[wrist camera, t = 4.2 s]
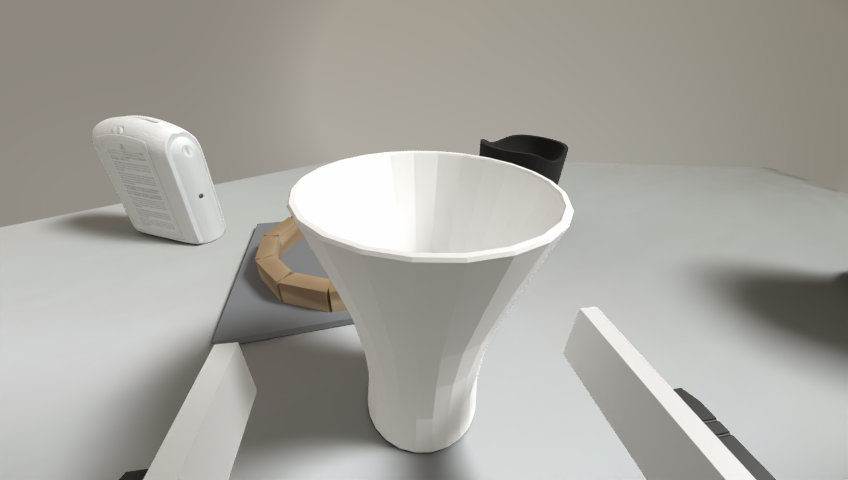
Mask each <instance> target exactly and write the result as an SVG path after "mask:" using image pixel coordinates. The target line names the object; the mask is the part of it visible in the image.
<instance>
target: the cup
mask: <svg viewBox="0 0 848 480" xmlns="http://www.w3.org/2000/svg"><path fill="white" fill-rule="evenodd" d="M287 208H288V210H289V211H290V213H291V215H292V217H293V219H294V220H295V222H296V224H297V225H298V227H299V229H300V230H301V232H302V234H303V235H304V237H305V239H306V240H307V242H308V244H309V245H310V247H311V249H312V250H313V252H314V253H315V255H316V257H317V258H318V260H319V262H320V263H321V265H322V267H323V268H324V270H325V272H326V273H327V275H328V276H329V278H330V280H331V282H332V283H333V285H334V287H335V289H336V290H337V292H338V294H339V296H340V297H341V299H342V301H343V303H344V304H345V306H346V308H347V310H348V312H349V313H350V315H351V317H352V319H353V322H354V325H355V327H356V330H357V333H358V336H359V338H360V341H361V344H362V346H363V349H364V352H365V356H366V361H367V366H368V371H369V384H368V408H369V414H370V417H371V419H372V421H373V423H374V426H375V428H376V429H377V430H378V431H379V433H380V434H381V435H382V436H383V437H384V438H385V439H386V440H387V441H389V442H390V443H392V444H394V445H395V446H397V447H398V448H401V449H404V450H408V451H412V452H434V451H437V450H440V449H443V448H447V447H448V446H450V445H451V444H453V443H454V442H456V441H457V440H459V439H460V438H461V437H462V435H463V434H464V433H465V432H466V430H467V429H468V428H469V426H470V424H471V421H472V419H473V416H474V414H475V404H476V380H477V377H478V373H479V370H480V366H481V363H482V359H483V356H484V352H485V350H486V348H487V346H488V344H489V341H490V339H491V337H492V335H493V333H494V331H495V329H496V328H497V326H498V325H499V324H500V322H501V321H502V319H503V318H504V316H505V315H506V314H507V312H508V311H509V309H510V308H511V306H512V305H513V303H514V302H515V301H516V299H517V298H518V296H519V295H520V293H521V292H522V290H523V289H524V288H525V286H526V285H527V283H528V282H529V280H530V279H531V278H532V276H533V275H534V274H535V272H536V271H537V270H538V268H539V267H540V266H541V264H542V263H543V261H544V260H545V259H546V257H547V256H548V255H549V253H550V252H551V251H552V249H553V248H554V247H555V245H556V244H557V243H558V241H559V240H560V238H561V237H562V236H563V234H564V233H565V232H566V230H567V229H568V228H569V226H570V222H571V219H572V215H573V212H574V210H573V207H572V205H571V203H570V201H569V198H568V196H567V194H566V193H565V192H564V191H563V190H562V189H561V188H560V187H559V186H557V185H556V184H555V183H554V182H553V181H551V180H549V179H548V178H546V177H544V176H542V175H540V174H538V173H536V172H534V171H532V170H529V169H526V168H523V167H521V166H518V165H515V164H512V163H508V162H504V161H500V160H496V159H492V158H488V157H482V156H476V155H469V154H462V153H451V152H440V151H400V152H385V153H376V154H369V155H362V156H357V157H352V158H348V159H343V160H339V161H337V162H334V163H331V164H328V165H325V166H322V167H319V168H318V169H316V170H314V171H312V172H310V173H309V174H307V175H305V176H303V177H302V178H301V179H300V180H299V181H298V182H297V183H296V184H295V186H294V187H293V188H292V189H291V191H290V194H289V199H288V204H287Z"/></svg>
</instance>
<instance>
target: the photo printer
mask: <svg viewBox="0 0 848 480" xmlns="http://www.w3.org/2000/svg"><path fill="white" fill-rule="evenodd" d="M92 142H93V145H94V147H95V149H96V151H97V153H98V155H99V157H100V159H101V161H102V163H103V165H104V167H105V169H106V171H107V173H108V175H109V177H110V180H111V182H112V183H113V186H114V188H115V190H116V192H117V194H118V196H119V198H120V200H121V202H122V204H123V206H124V208H125V210H126V212H127V214H128V217H129V219H130V220H131V223H132V224H133V226H134V227H135V228H136V229H137V230H138V231H140V232H143V233H147V234H151V235H156V236H160V237H164V238H168V239H173V240H177V241H182V242H187V243H193V244H200V243H203V244H206V243H209V242H212V241H215V240H217V239H218V238H220V237H221V236H222V235H223V234H224V230H226V225H225V221H224V217H223V214H222V211H221V208H220V205H219V202H218V198H217V195H216V192H215V189H214V186H213V183H212V180H211V176H210V173H209V170H208V167H207V164H206V161H205V158H204V155H203V152H202V149H201V146H200V144H199V142H198V141H197V140H196V138H195V137H194V136H193V135H191V134H190V133H189V132H187V131H185V130H184V129H182V128H180V127H178V126H176V125H173V124H171V123H168V122H165V121H162V120H159V119H156V118H151V117H146V116H124V117H114V118H110V119H107V120H104V121H102V122H100V123H99V124H97V125H96V126H95V128H94V129H93V132H92Z"/></svg>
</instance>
